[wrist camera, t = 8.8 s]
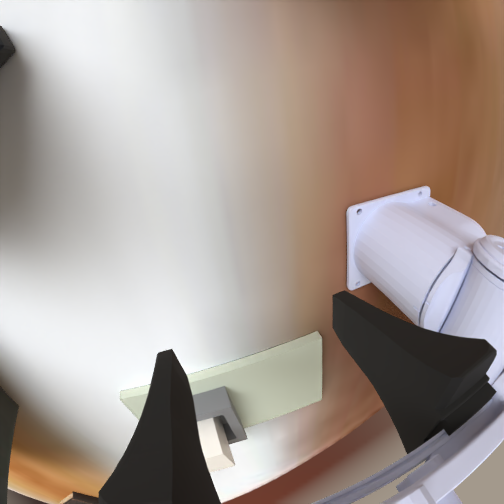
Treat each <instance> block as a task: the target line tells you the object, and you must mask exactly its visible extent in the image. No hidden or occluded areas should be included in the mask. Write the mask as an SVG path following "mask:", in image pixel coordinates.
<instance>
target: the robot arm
mask: <svg viewBox="0 0 504 504" xmlns="http://www.w3.org/2000/svg"><path fill="white" fill-rule="evenodd" d="M358 209H359V212H358V213H357V210H358ZM346 214H347V288H348V289H349V290H354V289H357V288H359V287H361V286H364V285H366V284H369V283H371V282H372V283H373V284H374V285H375V286H376V287H377V288H378V289H379V290H380V291H381V292H383V293H384V294H385V295H386V296H387V297H388V298H389V299H390V300H391V301H392V302H393V303H394V304H395V305H396V306H397V307H398V308H399V309H400V310H401V311H402V312H403V313H404V314H405V315H406V316H407V317H408V318H409V319H410V320H411V321H412V322H413V323H414V324H415V325H413V324H411V323H408V322H406V321H403V320H401V319H399V318H396V317H394V316H392V315H390V314H388V313H386V312H384V311H382V310H380V309H378V308H376V307H374V306H372V305H370V304H368V303H367V302H365V301H363V300H361V299H359V298H358V297H356V296H354V295H352V294H350V293H348V292H347V291H345V290H344V291H342V292H339V293H337V294H334V295H333V329H334V331H335V332H336V334H337V336H338V338H339V340H340V341H341V343H342V345H343V346H344V347H345V349H346V350H347V351H348V353H349V354H350V355H351V357H352V358H353V359H354V360H355V362H356V363H357V364H358V366H359V367H360V368H361V370H362V371H363V372H364V373H365V375H366V376H367V377H368V379H369V380H370V382H371V383H372V385H373V386H374V388H375V389H376V391H377V393H378V395H379V396H380V398H381V400H382V402H383V403H384V405H385V407H386V409H387V411H388V413H389V415H390V416H391V419H392V421H393V423H394V425H395V427H396V429H397V431H398V433H399V436H400V438H401V440H402V443H403V445H404V448H405V450H406V452H407V455H406V456H404V457H403V458H401V459H400V460H398V461H396V462H395V463H393V464H391V465H390V466H388V467H386V468H384V469H383V470H381V471H379V472H377V473H375V474H374V475H372V476H370V477H368V478H366V479H364V480H362V481H360V482H358V483H357V484H354V485H352V486H350V487H348V488H346V489H344V490H342V491H340V492H338V493H335V494H333V495H331V496H328V497H326V498H324V499H321V500H319V501H316V502H314V503H311V504H351V503H353V502H355V501H357V500H359V499H361V498H363V497H365V496H367V495H369V494H371V493H372V492H374V491H376V490H378V489H380V488H382V487H383V486H385V485H387V484H389V483H390V482H392V481H394V480H395V479H397V478H399V477H400V476H402V475H404V474H405V473H407V472H408V471H410V470H411V469H413V468H414V467H416V466H417V465H419V464H420V463H422V462H423V461H425V460H426V461H425V463H424V464H423V465H422V466H420V467H419V468H418V469H416V470H415V471H414V472H412V473H411V474H409V475H408V476H407V478H406V479H404V480H403V481H402V482H401V483H400V484H398V485H397V486H396V488H397V490H398V491H399V493H397V494H396V495H394V496H392V497H391V498H389V499H387V500H385V501H384V502H382V503H380V504H463V503H462V502H461V500H460V499H459V497H458V496H457V494H456V493H455V491H454V490H453V489H454V488H455V487H457V486H458V485H459V484H460V483H461V482H462V481H463V480H465V479H466V478H467V477H468V476H469V475H470V474H471V473H472V472H473V471H474V470H475V469H476V468H477V467H478V466H479V465H480V464H481V463H482V462H483V461H484V460H485V459H486V458H487V457H488V456H489V455H490V454H491V453H492V452H493V451H494V450H495V449H496V448H497V447H498V445H499V444H500V443H501V442H502V441H503V440H504V238H502V237H499V236H495V235H486V233H485V232H484V230H483V229H482V228H481V226H480V225H479V224H478V223H477V222H476V221H474V220H473V219H471V218H469V217H467V216H465V215H464V214H462V213H460V212H458V211H456V210H454V209H452V208H450V207H448V206H446V205H444V204H443V203H441V202H439V201H437V200H435V199H432V198H430V188H429V187H427V186H423V187H419V188H415V189H412V190H408V191H404V192H400V193H397V194H393V195H389V196H386V197H382V198H378V199H375V200H371V201H368V202H364V203H360V204H357V205H353V206H351V207H349V208H348V210H347V213H346ZM99 504H221V502H220V500H219V497H218V495H217V492H216V490H215V487H214V484H213V481H212V479H211V476H210V473H209V470H208V467H207V464H206V461H205V457H204V454H203V451H202V447H201V442H200V437H199V431H198V425H197V419H196V413H195V406H194V400H193V395H192V391H191V388H190V384H189V380H188V377H187V375H186V373H185V372H184V370H183V368H182V366H181V365H180V363H179V361H178V359H177V357H176V355H175V354H174V352H173V350H172V349H170V350H166V351H163V352H159V353H158V354H157V358H156V363H155V368H154V372H153V377H152V381H151V384H150V388H149V392H148V396H147V399H146V402H145V405H144V408H143V411H142V414H141V417H140V420H139V422H138V425H137V427H136V430H135V432H134V435H133V437H132V439H131V441H130V443H129V445H128V447H127V449H126V451H125V453H124V455H123V457H122V458H121V460H120V462H119V463H118V465H117V467H116V468H115V470H114V472H113V473H112V475H111V476H110V477H109V479H108V480H107V482H106V483H105V484H104V486H103V487H102V488H101V490H100V491H99Z"/></svg>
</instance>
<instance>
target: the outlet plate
mask: <svg viewBox="0 0 504 504" xmlns="http://www.w3.org/2000/svg"><path fill="white" fill-rule="evenodd" d="M187 377H188V380H189V384H190V388H191V391H192V395H193V400H194V406H195V413H196V419H197V422H198V421H202V420H206V419H210V418H213V417H217V416H219V417H220V418H221V420H222V424H223V427H224V430H225V434H226V437H227V440H228V444H232V443H235V442H239V441H242V440H246V439H247V436H246V433H245V430H244V428H247V427H250V426H253V425H256V424H259V423H262V422H265V421H268V420H271V419H274V418H276V417H279V416H282V415H285V414H287V413H290V412H293V411H295V410H298V409H300V408H303V407H305V406H308V405H310V404H313V403H315V402H317V401H320V400H322V337H321V335H320V334H319V333H318V331H316V332H313V333H311V334H308V335H306V336H303V337H300V338H298V339H295V340H292V341H290V342H287V343H284V344H282V345H279V346H276V347H273V348H271V349H268V350H265V351H262V352H259V353H256V354H253V355H250V356H247V357H244V358H241V359H238V360H235V361H232V362H229V363H226V364H222V365H219V366H216V367H213V368H209V369H206V370H202V371H199V372H195V373H192V374H188V375H187ZM149 388H150V385H146V386H141V387H137V388H133V389H128V390H123V391H120V400H121V401H122V402H123V403H124V405H125V406H126V407H127V408H128V409H129V410H130V411H131V412H132V413H133V414H134V415H135V416H136V417H137V418H138V419H139V420H140V417H141V414H142V411H143V408H144V405H145V402H146V399H147V396H148V392H149Z"/></svg>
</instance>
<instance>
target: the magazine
mask: <svg viewBox="0 0 504 504" xmlns="http://www.w3.org/2000/svg"><path fill="white" fill-rule="evenodd" d="M14 52H15V48H14V46H13V44H12V43H11V41H10V40H9V38H8V36H7V35H6V33H5V31H4V30H3V28H2V26H0V68H1V67H2V65H3V64H4V63H5V62H6V61H7V60H8V59H9V58H10V57H11V56H12V55H13V54H14Z"/></svg>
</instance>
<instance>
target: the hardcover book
mask: <svg viewBox="0 0 504 504" xmlns="http://www.w3.org/2000/svg"><path fill="white" fill-rule="evenodd" d="M60 504H99V498H97V497H93V496H88V495H84V494H81V493H77V492H73V493H72V494H70V495H69V496H67V497H66V498H65V499H63V500H62V501H60Z"/></svg>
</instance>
